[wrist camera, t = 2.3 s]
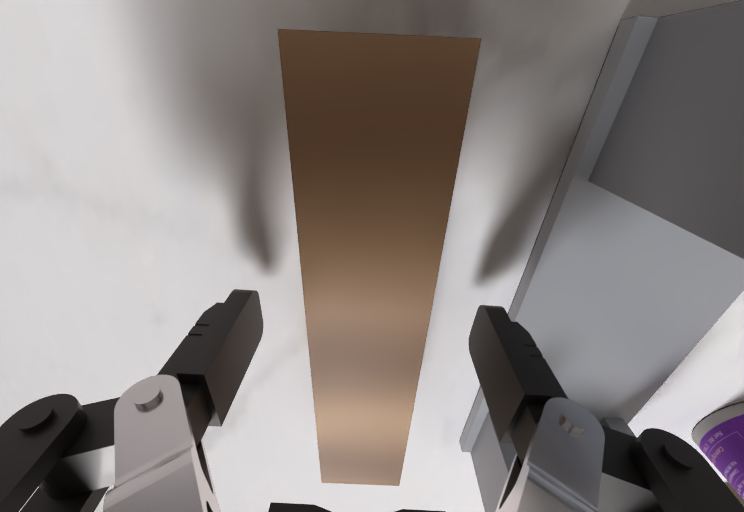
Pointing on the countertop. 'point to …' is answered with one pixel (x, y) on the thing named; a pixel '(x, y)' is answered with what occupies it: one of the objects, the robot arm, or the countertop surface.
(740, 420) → the container
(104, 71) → the countertop surface
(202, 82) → the countertop surface
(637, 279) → the endcap rail
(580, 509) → the robot arm
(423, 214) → the slat
